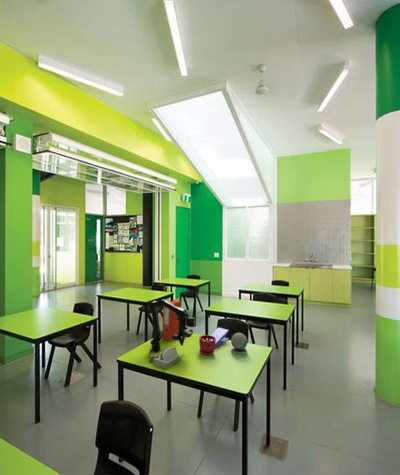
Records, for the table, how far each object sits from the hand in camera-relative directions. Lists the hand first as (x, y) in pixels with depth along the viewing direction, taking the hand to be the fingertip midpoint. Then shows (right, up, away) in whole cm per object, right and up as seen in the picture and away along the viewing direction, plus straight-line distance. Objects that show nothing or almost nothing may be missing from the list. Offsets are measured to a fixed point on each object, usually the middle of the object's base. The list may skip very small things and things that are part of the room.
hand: (181, 345), depth 213 cm
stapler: (+29, -8, +25) cm, 39 cm away
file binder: (-12, -7, +36) cm, 38 cm away
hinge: (-8, -7, -12) cm, 16 cm away
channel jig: (-9, -7, -14) cm, 18 cm away
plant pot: (+20, -8, +4) cm, 22 cm away
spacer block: (-20, -6, -12) cm, 24 cm away
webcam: (+46, -8, +8) cm, 47 cm away
